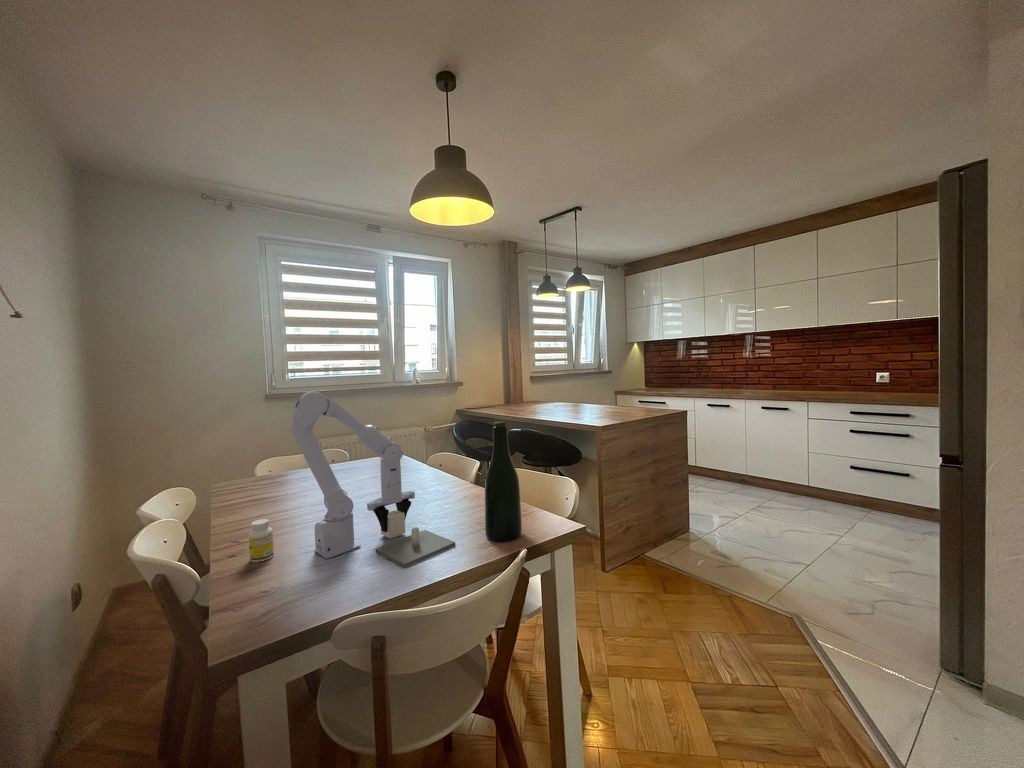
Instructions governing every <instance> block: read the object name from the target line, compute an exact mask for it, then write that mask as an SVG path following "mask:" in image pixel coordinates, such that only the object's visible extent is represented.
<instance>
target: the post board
mask: <svg viewBox="0 0 1024 768" xmlns="http://www.w3.org/2000/svg"><path fill="white" fill-rule="evenodd" d="M453 547H456V542H455V541H453V540H451V539H449V538H446V537H443V536H442V535H439V534H436V533H433V532H432V531H429V530H427V529H423V530H421V531H420V529H419V527H418V526H413V527H412V528H411V534H410V535H407V536H405V537H402V538H400V539H397V540H395V541H392V542H389V543H386V544H383V545H381V546H379V547H375V550H374V551H375V553H376V552H377V554H378V553H379V554H378V555H380V556H382V557H384V558H385V557H386V559H388V560H389V561H391V562H393V563H395V564H396V563H397V564H396V565H399V566H401V567H402V568H404V569H405V567H406V568H408V567H410V566H413V565H414V563H415V564H417V563H420V562H421V560H422V561H424V560H427V559H428V558H431V557H433V556H435V555H439V554H440V553H442V552H444V551H447V550H448V549H450V548H451V549H452V548H453ZM412 564H413V565H412ZM407 566H408V567H407Z"/></svg>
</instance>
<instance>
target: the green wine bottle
mask: <svg viewBox="0 0 1024 768" xmlns="http://www.w3.org/2000/svg"><path fill="white" fill-rule="evenodd" d="M493 425H494V426H493V427H492V442H493V443H492V453H491V459H490V462H489V465H488V469H487V471H486V475H485V479H484V526H485V527H484V529H485V537H486V538H487V539H488V540H489V541H491V542H496V543H509V542H513V541H516V540H518V539H519V538H520V537H521V536H522V532H523V530H522V529H523V526H522V507H521V506H522V504H521V489H520V480H519V475H518V472H517V468H515V464H514V462H513V460H512V457H511V453H510V447H509V439H508V438H509V436H508V433H509V428H508V426H507V423H506V422H505V421H494V423H493Z"/></svg>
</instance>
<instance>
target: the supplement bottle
mask: <svg viewBox="0 0 1024 768" xmlns="http://www.w3.org/2000/svg"><path fill="white" fill-rule="evenodd" d="M250 526H251V531H250V532H249V534H248V545H249V559H250V562H252V563H260V562H259V561H262V562H265V561H267V559H268V560H270V559H272V558H273V556H275V547H274V532H273V528H272V527H270V520H269V519H268V518H263V519H257V520H254V521H252V522H251V524H250ZM264 560H265V561H264Z"/></svg>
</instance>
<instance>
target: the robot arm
mask: <svg viewBox="0 0 1024 768" xmlns="http://www.w3.org/2000/svg"><path fill="white" fill-rule="evenodd" d="M322 415H323V416H324V417H329V418H333V419H334V418H335V419H336V420H337V421H339V422H340V423H342V424H343V425H344V426H346V427H347V428H348V429H350V430H351V431H353V432H354V433H355V434H356V435H357V436H356V437H357V441H358V442H359V443H360V444H362V445H363V446H364V447H366V448H367V449H368V450H369V451H371V452H373V453H374V454H377V456H378V458H381V459H380V468H379V469H380V489H381V490H380V491H381V492H380V493H381V497H379V498H376V499H375V500H372V501H369V502H367V503H366V506H367V507H366V510H367V511H370V512H372V511H373V513H374V514H375V516H376V518H377V520H378V522H379V527H380V531H381V530H382V531H383V532H387V528H388V525H387V518H388V512H389V511H390V510H389V509H388V508H387V507H386V506H390V505H393V504H395V506H396V510H398V511H401V512H403V513H405V520H406V518H407V514H408V512H409V509H410V508H411V505H412V501H411V500H413V499H415V498H416V494H415V493H416V492H415V491H412V490H409V491H405V492H403V491H402V473H401V472H402V469H401V468H402V467H401V459H402V457H403V455H404V451H403V450H402V448H401V445H399V444H398V443H396V442H394V441H393V438H392V437H391V436H388V435H386V434H385V433H383V431H381V430H380V427H379V426H378V425H373V424H364V423H363V422H361V421H360V420H359V419H358V418H357V417H355V416H354V415H353V414H352V413H351V412H349V411H348V410H347V409H346V408H345V407H343V406H342V405H341V404H339V403H338V402H336V401H334V400H332V399H331V398H328V397H326V396H325V395H324V394H323V393H321V392H318V391H313V390H309V391H306V392H304V393H302V395H300V397H299V398H298V399H297V401H296V403H295V405H294V410H293V415H292V420H291V425H290V432H291V434H292V437H293V438H294V440H295V443H297V445H298V448H299V450H300V451H301V454H302V455H303V458H304V459H305V462H306V463H307V465H308V467H309V468H310V471H311V473H312V474H313V477H314V478H315V480H316V482H317V484H318V486H319V488H320V490H321V493H322V494H323V497H324V498H323V503H324V504H323V505H324V506H325V508H326V509H327V511H326V513H325V515H324V518H323V519H322V520H320V521H318V522H316V523H315V524H314V544H315V547H314V552H316V553H317V554H319V555H320V556H321V557H323V558H324V559H326V560H327V559H330V558H334V557H336V556H339V555H341V554H345V553H347V552H350V551H353V550H356V549H358V548H361V544H359V543H358V542H356V541H355V531H354V530H355V529H354V525H355V524H354V511H353V510H354V502H353V500H352V499H351V498H350V497H349V496H348V493H347V491H345V490H344V489H342V487H341V485H340V483H339V481H338V480H337V477H336V476H335V474H334V471H333V470H332V468H331V465H330V463H329V462H328V459H327V458H326V456H325V454H324V451H323V450H322V448H321V446H320V444H319V441H318V440H317V438H316V436H315V434H314V432H313V429H314V428H315V425H316V423H317V421H318V420H319V418H320V417H321V416H322Z"/></svg>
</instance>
